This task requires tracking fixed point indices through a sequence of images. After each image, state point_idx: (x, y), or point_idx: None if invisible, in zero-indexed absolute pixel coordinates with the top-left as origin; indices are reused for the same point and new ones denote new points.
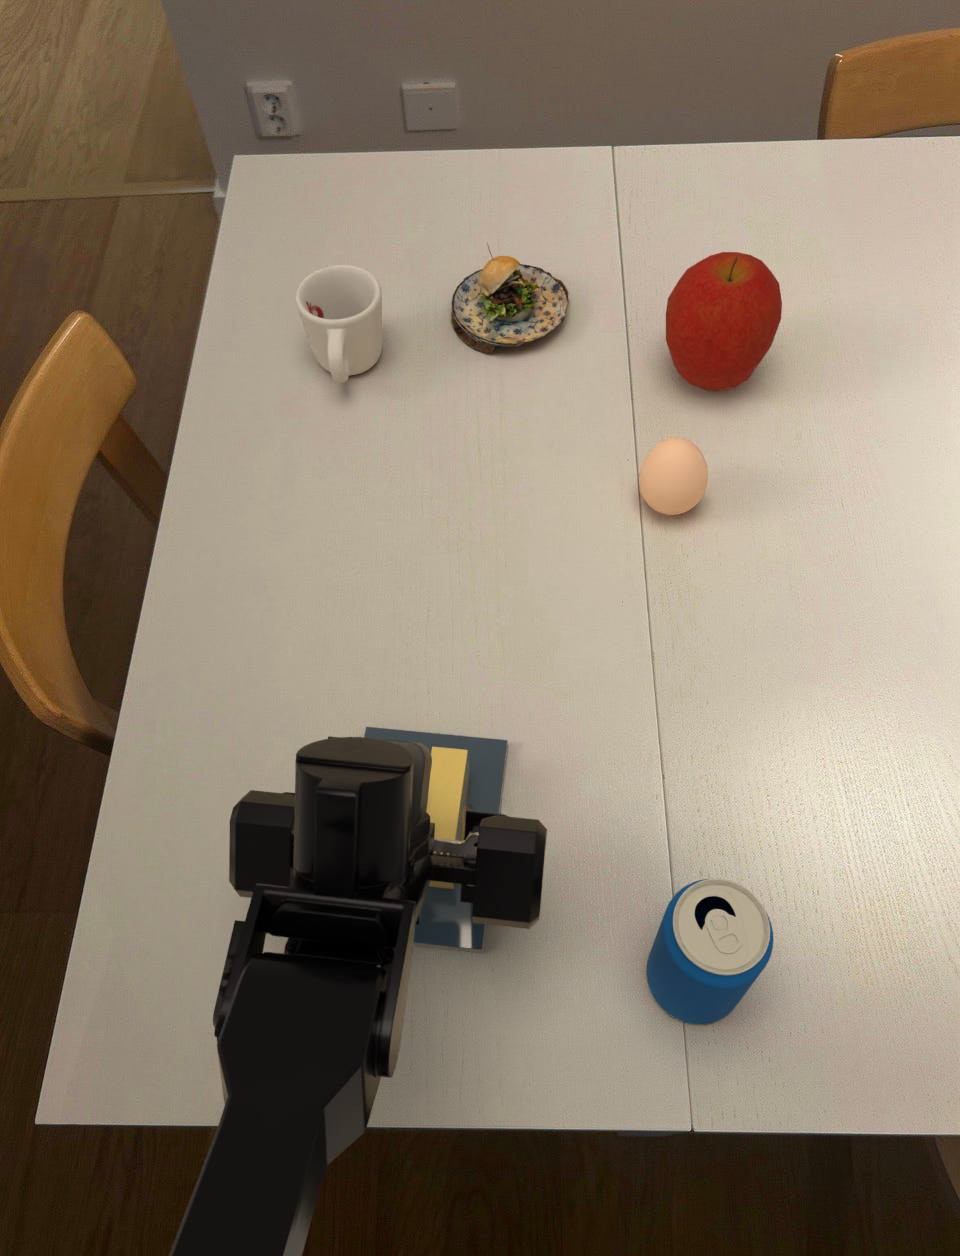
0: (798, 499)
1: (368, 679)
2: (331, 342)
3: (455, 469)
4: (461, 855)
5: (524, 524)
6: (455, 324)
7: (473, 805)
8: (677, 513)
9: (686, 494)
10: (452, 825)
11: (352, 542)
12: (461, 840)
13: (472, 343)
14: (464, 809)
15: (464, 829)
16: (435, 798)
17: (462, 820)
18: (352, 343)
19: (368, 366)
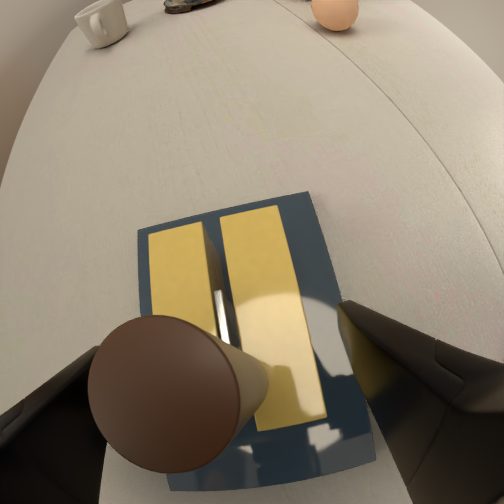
0: (400, 28)
1: (134, 184)
2: (91, 19)
3: (181, 45)
4: (394, 443)
5: (241, 50)
6: (167, 11)
7: (300, 283)
8: (347, 25)
9: (352, 6)
10: (302, 338)
11: (112, 101)
12: (364, 392)
13: (178, 11)
14: (360, 325)
15: (495, 454)
16: (254, 300)
17: (357, 350)
18: (106, 20)
19: (120, 34)
